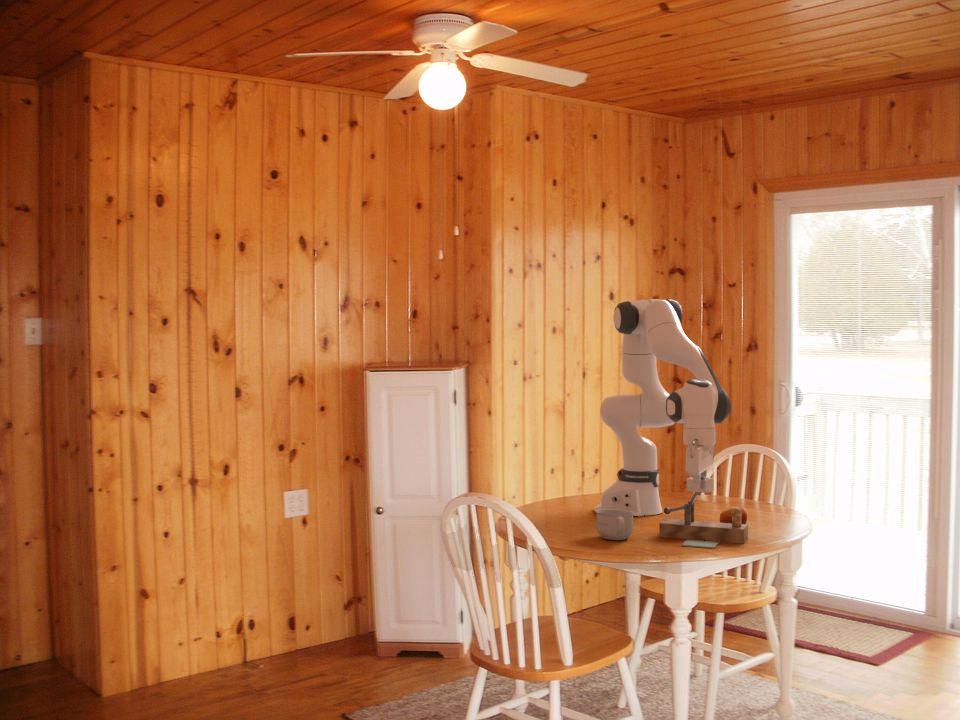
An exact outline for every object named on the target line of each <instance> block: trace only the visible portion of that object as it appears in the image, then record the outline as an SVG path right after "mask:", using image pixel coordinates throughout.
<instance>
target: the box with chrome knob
mask: <svg viewBox="0 0 960 720" xmlns="http://www.w3.org/2000/svg"><path fill="white" fill-rule="evenodd" d="M700 482H701V488H700V489H694V483H693V479H692V476H691V477H687V478H686V491H687V492H694V493H695V492H701V493H702V494H708V493H711V492H714V487H715V486H714V477H713V478H712V477H707V476H706V477H700Z"/></svg>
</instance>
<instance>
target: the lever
mask: <svg viewBox="0 0 960 720" xmlns="http://www.w3.org/2000/svg"><path fill="white" fill-rule="evenodd" d="M702 494H703V493H701V492H694V493H693V495H692V497H691V498H690V500H689V501H690V502H689V504H691V506H692V504H693V502H694V503H695V500H696V499H697V497H700V496H701V495H702ZM682 510H684V504H683V505H679V506H675V507H671V508H669V507H667V506H666V507H664V509H663V513H664V514H665V515H670V514H671V513H672V512H677V511H682Z"/></svg>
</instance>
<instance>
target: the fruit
mask: <svg viewBox="0 0 960 720" xmlns="http://www.w3.org/2000/svg"><path fill="white" fill-rule="evenodd" d="M734 508H739V509H741V511H742V516H741V519H742V524H746V525H747V520H748V513H747V511H746V510H745V509H744V508H742V507H741V506H737V505H734V506H730V507H726V508H725V509H724V510H722V511H721V513H720V515H719V523H732V514H731V511H732V510H733V509H734Z"/></svg>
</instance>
